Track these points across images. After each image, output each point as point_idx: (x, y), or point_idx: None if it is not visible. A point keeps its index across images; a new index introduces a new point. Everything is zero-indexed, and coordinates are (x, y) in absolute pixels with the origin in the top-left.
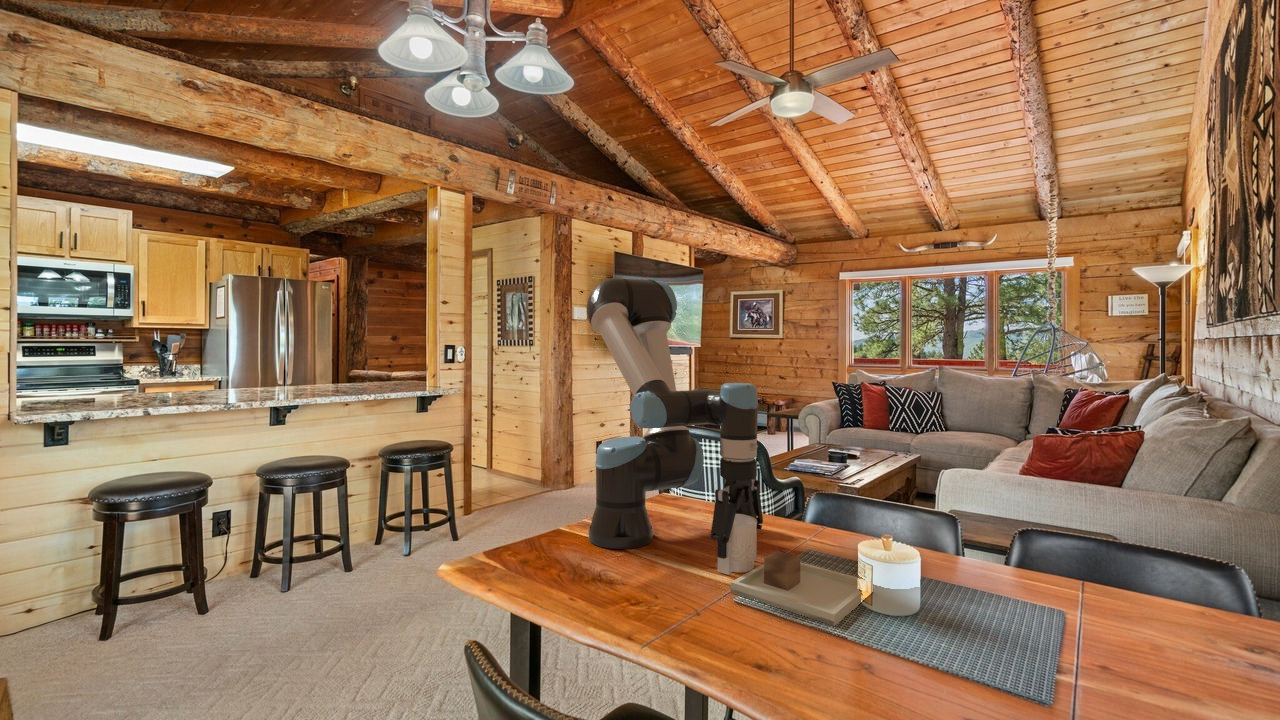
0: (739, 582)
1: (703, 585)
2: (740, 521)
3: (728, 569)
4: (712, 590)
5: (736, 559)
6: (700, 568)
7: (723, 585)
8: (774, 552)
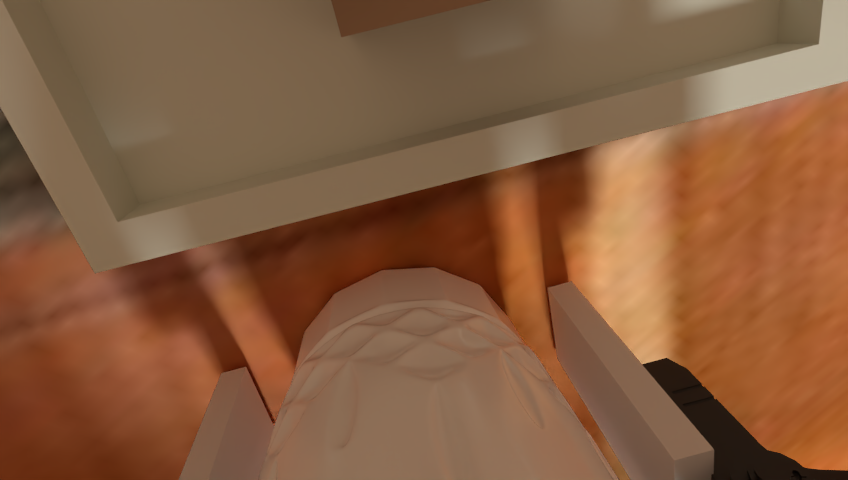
0: (819, 30)
1: (785, 254)
2: None
3: (588, 302)
4: (817, 171)
5: (521, 343)
6: (596, 433)
7: (710, 190)
8: (429, 3)
